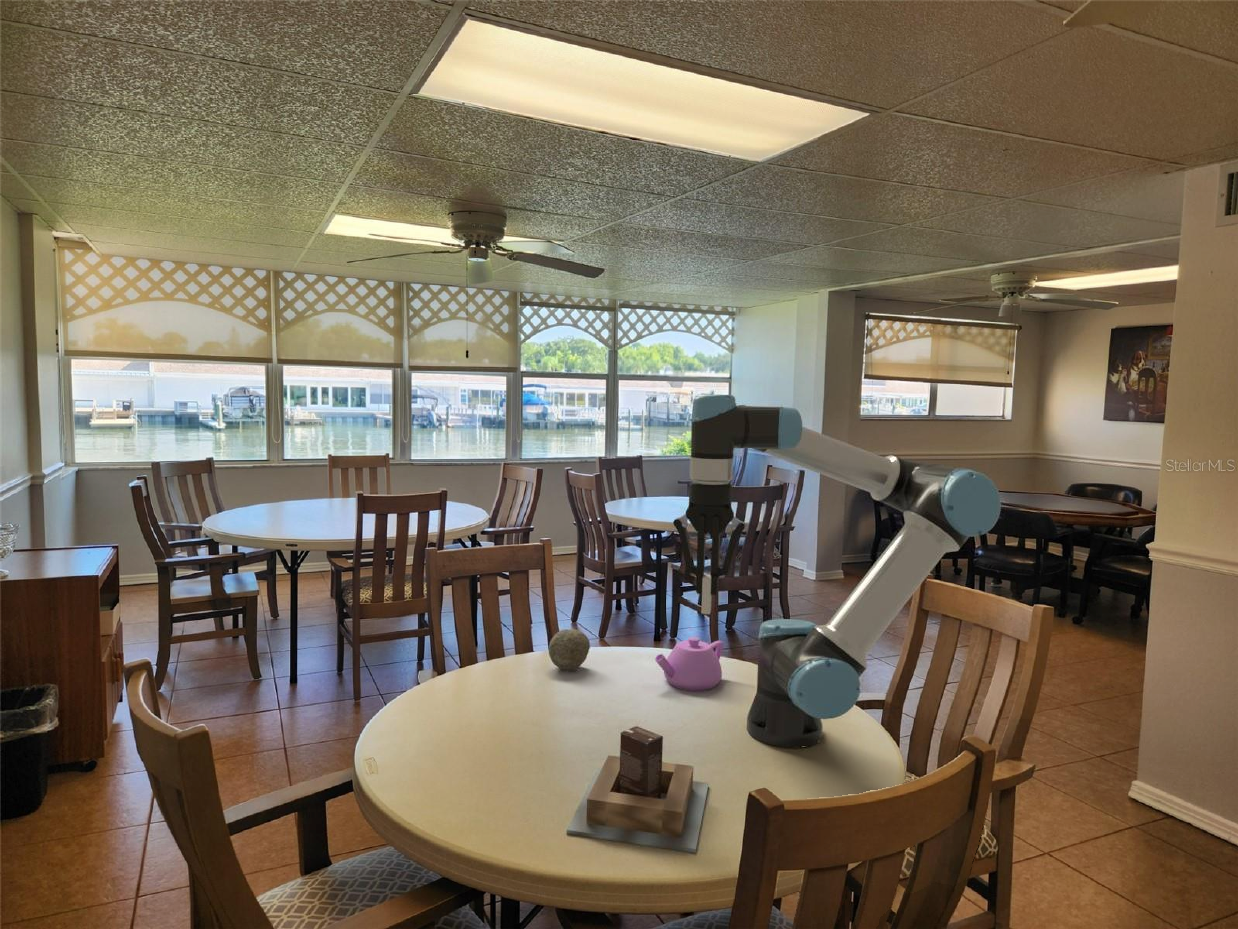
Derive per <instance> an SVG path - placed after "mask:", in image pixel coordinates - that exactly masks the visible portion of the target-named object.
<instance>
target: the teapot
mask: <svg viewBox="0 0 1238 929" xmlns="http://www.w3.org/2000/svg"><path fill="white" fill-rule="evenodd" d="M714 649H715V650H714ZM723 651H724V641H722V640H716V641H713V642H711V643H710V644H709V643H708V642H705V641H701V638H699V637H695V636H693V637H692V636H691V637H688V639H687V640H682V641H681V640H680V641H679V642H678V643H677V644H676V645H675V646H674V647H673V648H672V650H671V652H670V653H669V655H668V656H667V658H666V656H665V655H664V654H663V653H660V654H658V655H657V656H656V657H655V659H654V660H655V662H656V663H657V664H658V665H659V667H660V668H661V669H662V670H663V674H664V675H663V676H664V678H666V680H667V681H668V682H669V684H671V685H672V686H673V687H674V688H677V689H681V690H686V691H694V692H695V691H706V690H711V689H713V688H715V686H717V685H718V684H719V683H720V681H721V679H722V677H723V671H722V665H721V663H720V659H721V657H722V654H723Z"/></svg>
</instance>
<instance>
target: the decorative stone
mask: <svg viewBox="0 0 1238 929" xmlns="http://www.w3.org/2000/svg"><path fill="white" fill-rule="evenodd" d="M590 648H591V644H590V640H589V637H588V636H587V635H586V634H585V633H584V632H583V631H580V630H578V629H573V628H571V629H561V630H559V631H557V632H556V633H555V634H554V635H553V636H552V637H551V639H550V642H549V645H548V655H549V658H550V661H551V662H552V663H553V665H554V666H556V667H557V668H558V669H560V670H562V671H569V672H570V671H575V670H577V669H579V667H581V666H582V665H583V663H584V662H585V661H586V659H587V658H588V654H589V651H590Z"/></svg>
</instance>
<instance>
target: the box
mask: <svg viewBox="0 0 1238 929" xmlns="http://www.w3.org/2000/svg"><path fill="white" fill-rule="evenodd" d="M663 740H664V737H663V735H660V734H658V733H655V732H652V731H650V730H647V729H645V728H643V727H640V726H637V725H636V726H632V727H631V728H628V729H626V730H623V731H621V732H620V745H619V746H620V749H619V757H620V772H619V793H622V794H629V795H637V796H644V797H651V798H659V799H661V779H662V762H663V749H664V748H663V746H664V745H663V744H664V743H663V742H664V741H663Z"/></svg>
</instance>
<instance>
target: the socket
mask: <svg viewBox="0 0 1238 929" xmlns="http://www.w3.org/2000/svg"><path fill="white" fill-rule="evenodd" d="M619 772H620V756H619V755H618V756H617V755H611V754H610V755H609V754H608V756H607V757H606V760H605V761H604V763H603V766H602V767H601V768H597V769H596V771H595V773H594V775H592V776H593V777H592V778H591V780H590V782H589V784H588V786H587V788H586V790H585V793H584V794H583V796H582V798H581V800H580V803H579V805H578V806H577V809H576V810H575V812H574V815H573V816H572V818H571V820H570V822H569V825H568V826H567V828H566V834H567V835H572V836H573V835H575V836H581V837H588V838H594V839H600V840H608V841H613V842H614V841H615V842H620V843H621V842H622V843H627V844H628V843H629V844H633V845H634V844H635V845H641V846H648V847H655V848H662V849H669V850H673V851H681V852H689V853H694V854H696V853H697V847H698V844H699V843H698V842H699V838H700V831H701V826H702V823H703V822H702V821H703V816H704V811H705V806H706V800H707V795H708V790H709V782H706V781H705V782H703V781H694V765H690V764H689V765H687V764H680V763H673V762H665V761H662V779H661V799H659V798H651V797H644V796H637V795H629V794H622V793H619Z"/></svg>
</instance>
